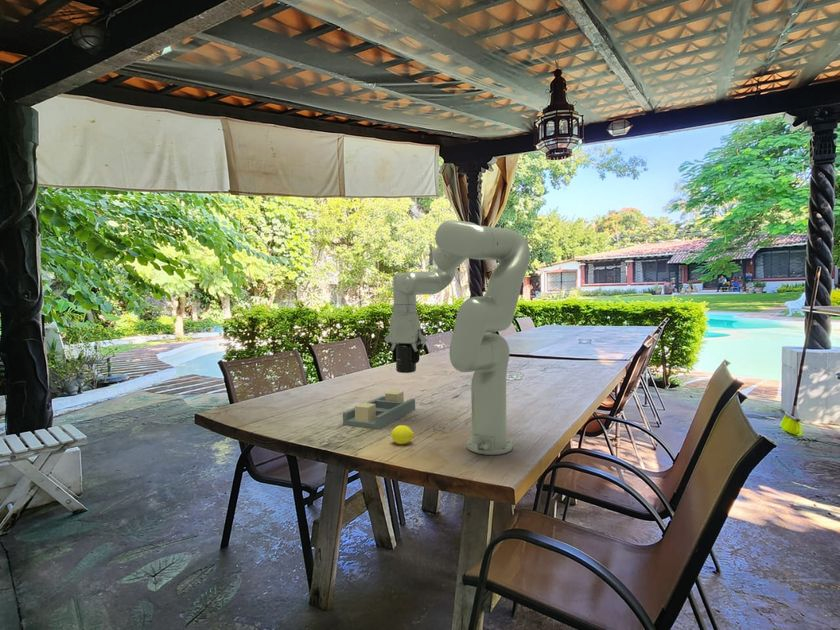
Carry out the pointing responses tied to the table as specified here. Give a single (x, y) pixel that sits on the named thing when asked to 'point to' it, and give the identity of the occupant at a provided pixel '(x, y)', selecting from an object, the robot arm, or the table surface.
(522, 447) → the table surface
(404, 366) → the supplement bottle
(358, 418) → the rail rack
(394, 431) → the lemon
